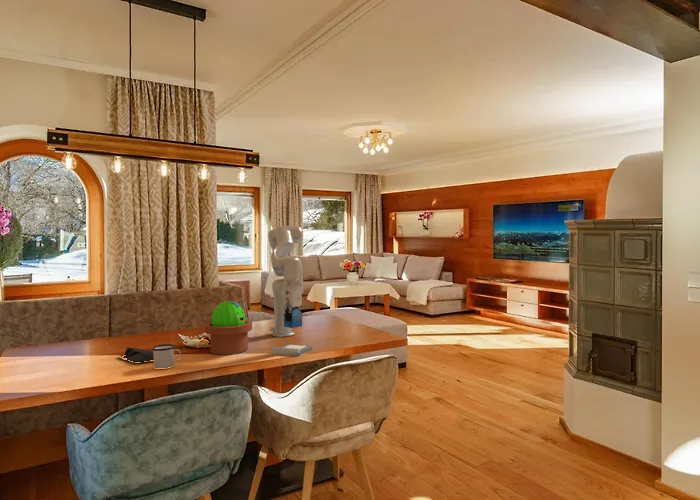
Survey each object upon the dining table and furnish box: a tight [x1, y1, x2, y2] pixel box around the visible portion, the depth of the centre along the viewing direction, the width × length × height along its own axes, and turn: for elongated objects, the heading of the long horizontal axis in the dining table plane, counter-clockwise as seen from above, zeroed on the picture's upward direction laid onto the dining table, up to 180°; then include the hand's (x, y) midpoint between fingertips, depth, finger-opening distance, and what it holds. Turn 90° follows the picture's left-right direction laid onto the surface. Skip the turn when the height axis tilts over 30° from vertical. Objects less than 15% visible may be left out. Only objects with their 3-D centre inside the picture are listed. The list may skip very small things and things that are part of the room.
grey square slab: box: [271, 343, 313, 357], centre depth 228 cm, size 14×14×3 cm
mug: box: [151, 343, 182, 368], centre depth 205 cm, size 12×10×9 cm
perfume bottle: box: [284, 307, 303, 329], centre depth 228 cm, size 6×6×12 cm
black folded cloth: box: [120, 346, 154, 362], centre depth 220 cm, size 15×22×5 cm
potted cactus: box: [204, 300, 253, 356], centre depth 232 cm, size 22×22×25 cm
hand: (293, 319), depth 228 cm, fingers closed on perfume bottle, 7 cm apart
